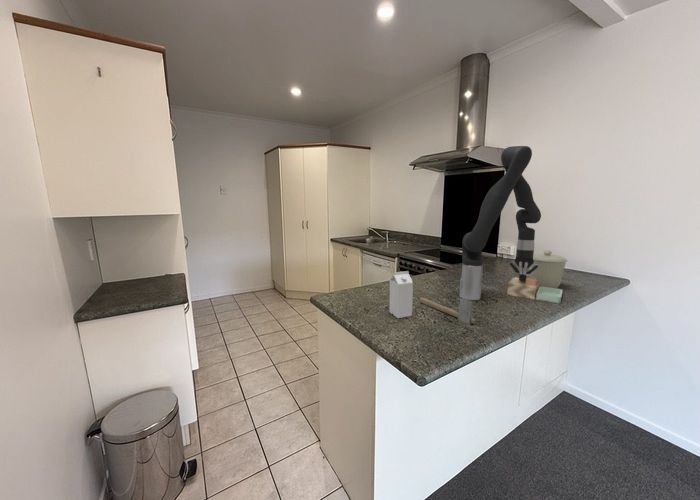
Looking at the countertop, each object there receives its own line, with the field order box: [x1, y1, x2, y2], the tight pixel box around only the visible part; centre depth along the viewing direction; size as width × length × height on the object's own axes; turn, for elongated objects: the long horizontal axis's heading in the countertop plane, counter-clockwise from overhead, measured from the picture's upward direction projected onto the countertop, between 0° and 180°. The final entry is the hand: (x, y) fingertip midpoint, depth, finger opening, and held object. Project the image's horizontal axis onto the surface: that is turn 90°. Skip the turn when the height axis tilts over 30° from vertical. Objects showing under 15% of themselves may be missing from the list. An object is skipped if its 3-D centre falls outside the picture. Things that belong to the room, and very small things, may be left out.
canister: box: [528, 249, 568, 289], centre depth 152 cm, size 18×18×21 cm
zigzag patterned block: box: [506, 276, 539, 300], centre depth 143 cm, size 12×16×6 cm
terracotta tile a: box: [526, 276, 537, 286], centre depth 138 cm, size 4×5×3 cm
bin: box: [535, 286, 563, 305], centre depth 136 cm, size 10×16×3 cm, turn 140°
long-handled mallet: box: [419, 297, 476, 325], centre depth 118 cm, size 10×2×30 cm
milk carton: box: [388, 270, 414, 319], centre depth 116 cm, size 7×7×19 cm
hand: (522, 281), depth 141 cm, fingers closed
